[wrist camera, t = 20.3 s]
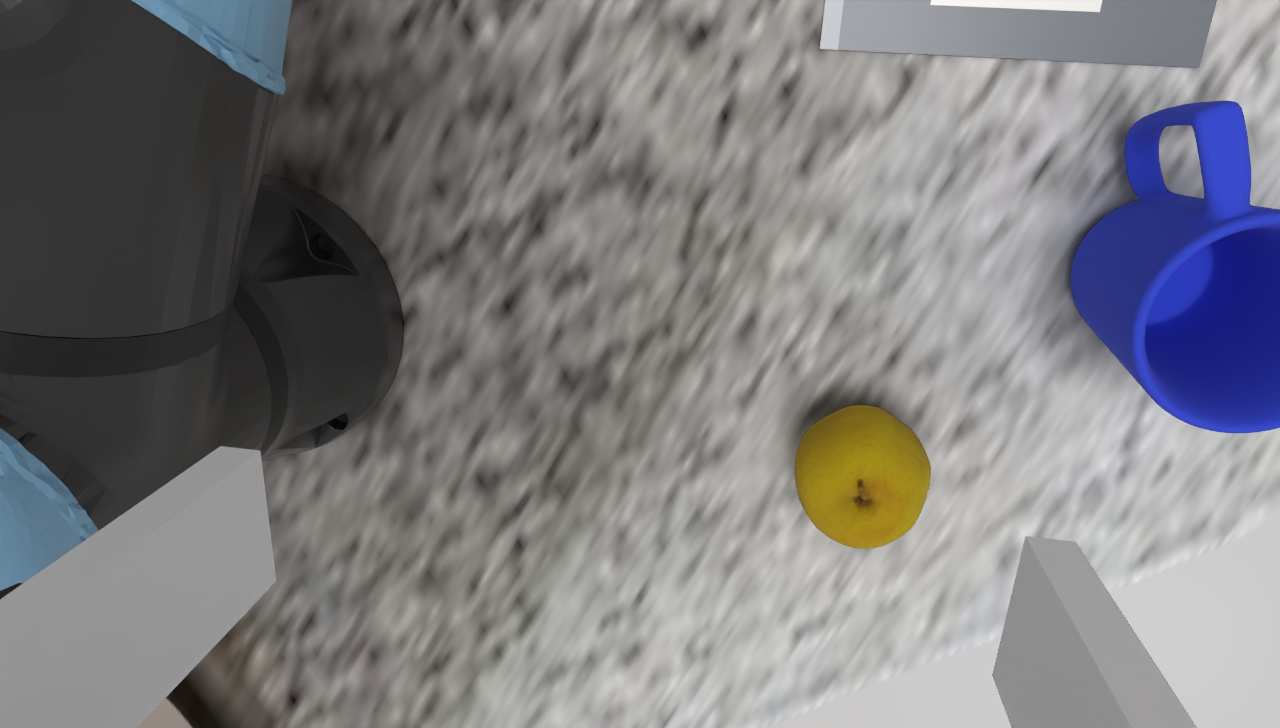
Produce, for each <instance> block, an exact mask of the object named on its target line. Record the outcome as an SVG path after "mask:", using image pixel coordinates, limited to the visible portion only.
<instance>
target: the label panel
mask: <svg viewBox="0 0 1280 728" xmlns="http://www.w3.org/2000/svg"><path fill="white" fill-rule="evenodd" d="M1216 2H1217V0H825V4H824V13H823V22H822V30H821V39H820V48H819V49H828V50H848V51H869V52H889V53H909V54H930V55H950V56H970V57H991V58H1011V59H1032V60H1052V61H1072V62H1093V63H1113V64H1133V65H1154V66H1174V67H1195V68H1199V66H1200V62H1201V58H1202V55H1203V51H1204V47H1205V43H1206V39H1207V36H1208V32H1209V28H1210V24H1211V21H1212V17H1213V13H1214V9H1215V5H1216Z"/></svg>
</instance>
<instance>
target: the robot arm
mask: <svg viewBox="0 0 1280 728" xmlns="http://www.w3.org/2000/svg"><path fill="white" fill-rule="evenodd" d="M291 7H292V0H0V728H137V727H138V726H139V725H140V724H141V723H142V722H143V721H144V720H145V718H147V717H148V716H149V714H150V713H151V712H152V711H153V710H154V709H155V708H156V707H157V706H158V705H159V704H160V703H161V702H162V701H163V700H164V699H165V698H166V697H167V696H168V695H169V693H170V692H171V691H172V690H173V689H174V688H175V687H176V686H177V685H178V684H179V683H180V682H181V681H182V680H183V679H184V678H185V677H186V676H187V675H188V674H189V672H190V671H191V670H192V669H193V668H194V667H195V666H196V665H197V664H198V663H199V662H200V661H201V660H202V659H203V658H204V657H205V656H206V655H207V654H208V653H209V651H210V650H211V649H212V648H213V647H214V646H215V645H216V644H217V643H218V642H219V641H220V640H221V639H222V638H223V637H224V636H225V635H226V634H227V633H228V631H229V630H230V629H231V628H232V627H233V626H234V625H235V624H236V623H237V622H238V621H239V620H240V619H241V618H242V617H243V616H244V615H245V614H246V613H247V612H248V610H249V609H250V608H251V607H252V606H253V605H254V604H255V603H256V602H257V601H258V600H259V599H260V598H261V597H262V596H263V595H264V594H265V593H266V592H267V591H268V589H269V588H270V587H271V586H272V585H273V584H274V583H275V582H276V574H275V566H274V558H273V549H272V541H271V533H270V525H269V517H268V509H267V501H266V492H265V484H264V476H263V468H262V461H266V460H270V459H274V458H278V457H283V456H287V455H291V454H295V453H299V452H304V451H308V450H311V449H315V448H318V447H320V446H323V445H325V444H327V443H329V442H331V441H333V440H335V439H337V438H339V437H340V436H342V435H343V434H345V433H346V432H348V431H349V430H350V429H351V428H353V427H354V426H355V425H356V424H357V423H359V422H360V421H361V420H362V419H363V418H364V417H365V416H367V415H368V414H369V413H370V412H371V411H372V410H373V409H374V408H375V407H376V406H377V405H378V404H379V402H380V401H381V400H382V398H383V397H384V396H385V394H386V392H387V391H388V389H389V387H390V385H391V383H392V382H393V379H394V377H395V374H396V372H397V368H398V365H399V361H400V357H401V350H402V340H403V325H402V315H401V309H400V304H399V299H398V295H397V292H396V289H395V286H394V283H393V281H392V278H391V275H390V273H389V271H388V269H387V267H386V265H385V263H384V261H383V259H382V258H381V256H380V254H379V253H378V251H377V250H376V248H375V246H374V245H373V244H372V242H371V241H370V240H369V238H368V237H367V236H366V235H365V233H364V232H363V231H362V230H361V229H360V228H359V227H358V226H357V224H356V223H355V222H354V221H353V220H352V219H350V218H349V217H348V216H347V215H346V214H345V213H344V212H343V211H341V210H340V209H339V208H338V207H336V206H335V205H334V204H332V203H331V202H329V201H328V200H327V199H325V198H323V197H322V196H320V195H318V194H317V193H315V192H313V191H311V190H309V189H307V188H305V187H302V186H300V185H298V184H295V183H292V182H289V181H286V180H282V179H279V178H274V177H269V176H261V174H262V169H263V165H264V160H265V156H266V151H267V147H268V142H269V137H270V133H271V128H272V124H273V119H274V115H275V110H276V106H277V101H278V97H279V95H284V92H285V89H286V80H285V78H284V77H283V75H282V70H283V62H284V54H285V46H286V38H287V32H288V26H289V19H290V13H291ZM992 676H993V678H994V681H995V684H996V686H997V689H998V692H999V695H1000V697H1001V700H1002V703H1003V705H1004V708H1005V711H1006V713H1007V716H1008V719H1009V721H1010V724H1011V727H1012V728H1197V727H1196V725H1195V724H1194V722H1193V721H1192V719H1191V718H1190V716H1189V715H1188V713H1187V712H1186V710H1185V709H1184V707H1183V706H1182V704H1181V702H1180V701H1179V699H1178V698H1177V696H1176V695H1175V693H1174V692H1173V690H1172V689H1171V687H1170V686H1169V684H1168V682H1167V681H1166V679H1165V678H1164V676H1163V675H1162V673H1161V672H1160V670H1159V669H1158V667H1157V666H1156V664H1155V663H1154V661H1153V660H1152V658H1151V656H1150V655H1149V653H1148V652H1147V650H1146V649H1145V647H1144V646H1143V644H1142V643H1141V641H1140V640H1139V638H1138V637H1137V635H1136V633H1135V632H1134V630H1133V629H1132V627H1131V626H1130V624H1129V623H1128V621H1127V620H1126V618H1125V617H1124V615H1123V614H1122V612H1121V610H1120V609H1119V607H1118V606H1117V604H1116V603H1115V601H1114V600H1113V598H1112V597H1111V595H1110V594H1109V592H1108V591H1107V589H1106V587H1105V586H1104V584H1103V583H1102V581H1101V580H1100V578H1099V577H1098V575H1097V574H1096V572H1095V571H1094V569H1093V568H1092V566H1091V565H1090V563H1089V561H1088V560H1087V558H1086V557H1085V555H1084V554H1083V552H1082V551H1081V549H1080V548H1079V546H1078V545H1077V543H1076V542H1072V541H1063V540H1054V539H1045V538H1036V537H1027V536H1026V537H1025V541H1024V545H1023V549H1022V554H1021V558H1020V562H1019V566H1018V570H1017V574H1016V579H1015V583H1014V587H1013V591H1012V595H1011V600H1010V604H1009V608H1008V612H1007V616H1006V620H1005V625H1004V629H1003V633H1002V637H1001V641H1000V645H999V650H998V654H997V658H996V662H995V666H994V671H993V675H992Z"/></svg>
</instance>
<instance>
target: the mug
mask: <svg viewBox="0 0 1280 728" xmlns="http://www.w3.org/2000/svg"><path fill="white" fill-rule="evenodd" d="M1173 125H1191V126H1192V127H1193V130H1194V132H1195V137H1196V143H1197V148H1198V154H1199V159H1200V166H1201V172H1202V179H1203V186H1204V199H1202V198H1196V197H1189V196H1183V195H1179V194H1175V193H1172V192H1170V191H1169V190H1168V189H1167V188H1166V186H1165V184H1164V180H1163V177H1162V173H1161V169H1160V163H1159V138H1160V135H1161V132H1162V130H1163V129H1164V128H1165V127H1166V126H1173ZM1124 156H1125V165H1126V171H1127V174H1128V178H1129V181H1130V184H1131V186H1132V189H1133V190H1134V192H1135V193H1136V195H1137V196H1138V197H1140V198H1141V200H1138V201H1134V202H1132V203H1129V204H1126V205H1124V206H1122V207H1120V208H1118V209H1116V210H1114V211H1113V212H1111V213H1109V214H1108V215H1107V216H1105V217H1104V218H1103V219H1101V220H1100V221H1099V222H1098V223H1097V224H1096V225H1095V226H1094V227H1093V228H1092V229H1091V230H1090V231H1089V232H1088V234H1087V235H1086V236H1085V238H1084V239H1083V241H1082V242H1081V244H1080V246H1079V248H1078V250H1077V252H1076V255H1075V258H1074V261H1073V264H1072V270H1071V289H1072V295H1073V299H1074V302H1075V304H1076V307H1077V309H1078V311H1079V313H1080V315H1081V316H1082V318H1083V319H1084V320H1085V322H1086V323H1087V324H1088V325H1089V327H1090V328H1091V329H1092V330H1093V331H1094V332H1095V333H1096V335H1097V336H1098V337H1099V338H1100V339H1101V340H1102V342H1103V343H1104V344H1105V345H1106V346H1107V347H1108V348H1109V350H1110V351H1111V352H1112V353H1113V354H1114V355H1115V356H1116V358H1117V359H1118V360H1119V361H1120V362H1121V363H1122V365H1123V366H1124V367H1125V368H1126V369H1127V370H1128V371H1129V373H1130V374H1131V375H1132V376H1133V377H1134V378H1135V379H1136V381H1137V382H1138V383H1139V384H1140V385H1141V386H1142V388H1143V389H1144V390H1145V391H1146V392H1147V393H1148V394H1149V396H1150V397H1151V398H1152V399H1153V400H1154V401H1155V402H1156V403H1157V404H1158V405H1159V406H1160V407H1161V408H1163V409H1164V410H1165V411H1167V412H1168V413H1170V414H1171V415H1173V416H1174V417H1176V418H1178V419H1180V420H1182V421H1184V422H1186V423H1188V424H1191V425H1193V426H1196V427H1199V428H1203V429H1207V430H1211V431H1217V432H1225V433H1252V432H1261V431H1267V430H1272V429H1276V428H1280V210H1278V209H1271V208H1265V207H1258V206H1251V205H1250V190H1251V164H1250V155H1249V146H1248V137H1247V131H1246V125H1245V120H1244V115H1243V112H1242V108H1241V107H1240V105H1239V104H1238V103H1236V102H1232V101H1213V102H1200V103H1192V104H1185V105H1180V106H1176V107H1171V108H1167V109H1164V110H1161V111H1158V112H1155V113H1153V114H1150V115H1148V116H1146V117H1143V118H1142V119H1140V120H1139V121H1137V122H1136V123H1135V124H1134V125H1133V126H1132V127H1131V128H1130V130H1129V132H1128V134H1127V136H1126V140H1125V149H1124Z"/></svg>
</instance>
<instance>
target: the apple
mask: <svg viewBox="0 0 1280 728" xmlns="http://www.w3.org/2000/svg"><path fill="white" fill-rule="evenodd" d="M930 477H931V466H930V462H929V459H928V457H927V454H926V452H925V450H924V448H923V446H922V444H921V442H920V440H919V439H918V437H917V436H916V435H915V433H914V432H913V431H912V430H911V429H910V428H909V427H908V426H906V425H905V424H904V423H902V422H901V421H899V420H898V419H897V418H895V417H894V416H893V415H892V414H890V413H889V412H887V411H885V410H883V409H881V408H879V407H875V406H867V405H853V406H848V407H845V408H842V409H840V410H838V411H836V412H834V413H832V414H830V415H828V416H826V417H824V418H822V419H821V420H819V421H818V422H816V423H815V424H813V425H812V426H811V427H810V428H809V429H808V430H807V431H806V433H805V434H804V435H803V437H802V439H801V441H800V443H799V447H798V450H797V454H796V460H795V481H796V487H797V492H798V496H799V500H800V502H801V504H802V507H803V509H804V510H805V512H806V514H807V515H808V517H809V518H810V520H811V521H812V523H813V524H814V525H815V526H816V527H817V528H818V529H819V530H820V531H821V532H822V533H824V534H825V535H826V536H828V537H829V538H831V539H833V540H835V541H837V542H838V543H840V544H843V545H845V546H849V547H853V548H863V549H868V548H876V547H881V546H884V545H886V544H889V543H891V542H893V541H894V540H896V539H898V538H900V537H902V536H903V535H904V534H905V533H906V532H907V531H909V530H910V529H911V528H912V526H913V525H914V524H915V522H916V521H917V519H918V517H919V515H920V513H921V511H922V508H923V505H924V502H925V500H926V497H927V491H928V489H929V485H930Z"/></svg>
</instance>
